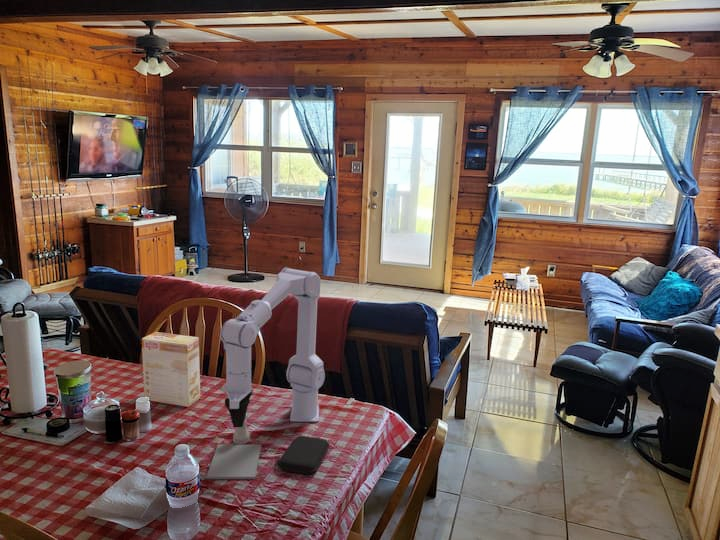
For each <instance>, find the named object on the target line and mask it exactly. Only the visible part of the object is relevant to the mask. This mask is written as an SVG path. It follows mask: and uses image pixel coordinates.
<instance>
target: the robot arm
mask: <svg viewBox="0 0 720 540" xmlns="http://www.w3.org/2000/svg"><path fill="white" fill-rule="evenodd" d="M276 277H277V278H276V283H274V285H273V286H272V287H271V288H270V290H269V291H268V292H267V293H266V294H265V295H264V296H263V298H261V299H255V300H252V301H251V302H250V304H249V305H248V306H247V307H246V308H245V309H244V310H243V311H242V312H241V313H240V314H239V315H237V316H236V318H230V319H228V320H226V321H225V322H224V323H223V325H222V327H221V330H220V331H221V332H220V333H219V337H220V340H221V341H222V343H223V350H224V351H225V357H226V359H225V362H226V363H225V366H226V369H225V371H226V372H225V374H226V381H225V382H226V384H224V385H221V389H220V390H221V392H223V393H224V392H225V393H226V395H227V397H228V398H225V400H224V405H225V407H226V409H227V410H228V413H229V414H230V419H231V423H232V426H233V428H236V427H242V426H243V423H244V419H245V416H246V414H247V410H248V406H249V405H250V402H251V400H250V398H251V396H252V395H253V391H254V389H253V385H252V345H254V343H255V342H256V339H257V336H258V334H260V329H261V328H262V327H263V326H264V325H265V324H266V323H268V321H269V320H270V319H271V317H272V314H273V313H272V310H273V309H274V308H276V306H278V305H279V304H280V303H281V302H283V301H284V299H286V298H287V297H288V296H289V295H291V296H293V297H294V298H295V299H296V300H297V302H298V305H297V324H296V325H297V330H296V350H295V351H296V352H295V353H296V354H295V355H293V356H291V357H290V358H289V359H288V366H287V369H286V374H285V375H286V380H287V381H288V383H290V387H291V388H292V399H291V400H292V403H291V404H292V405H291V410H290V418H289V421H290V422H292V423H293V422H297V423H299V422H303V423H306V422H310V423H311V422H313V423H315V422H316V423H317V422H318V423H319V416H320V405H319V404H318V401H319V389H320V388H321V387H322V386H323V385H324V382H325V378H326V373H325V368H324V361H323V360H322V359H321V358H320V357H319V356H318V355H317V354H316V342H317V339H316V338H317V320H318V319H317V318H318V300H319V299H320V297H321V295H320V294H321V277H320V275H318V273H317V272H315V271H308V270H301V269H295V268H290V267H284V268H283V269H281V271H280V272H279V273H277V276H276Z"/></svg>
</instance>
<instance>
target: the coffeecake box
mask: <svg viewBox="0 0 720 540" xmlns="http://www.w3.org/2000/svg"><path fill="white" fill-rule="evenodd" d="M199 339H200V337H198V336H191V335H184V334H183V335H182V334H174V333H168V332H159V331H154V332H152V333H150V334H148V335H146V336H144V337H142V338H141V352H142V355H141V356H142V371H143V373H142V374H143V392H144V393H143V395H144V396H147V397H149V399H150V401H151V402H156V403H157V402H158V403H162V404H170V405H175V406H180V407H187V408H189V407H191V406H192V405H193V404H194V403H195V402H197V401H198V400H199V399H200V398H201V377H200V376H201V370H200V369H201V368H200V367H201V366H200V340H199Z"/></svg>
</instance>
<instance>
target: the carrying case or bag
mask: <svg viewBox="0 0 720 540" xmlns="http://www.w3.org/2000/svg"><path fill="white" fill-rule="evenodd" d="M329 449H330V443H329V442H328V441H327V439H324V438H319V437H312V436H305V435H298V436H297V437H295V438H294V439H293V440H292V441H291V443H290V444H289V445H288V447H287V448H286V449H285V452H284V453H283V454H282V456H280V455H278V456H277V459H276V466H277V468H278V469H280V471H282V472H284V473H288V474H294V475H298V476H299V475H300V476H306V477H310V476H313V475H314V474H315V473H316V472H317V471H318V469H319V468H320V465H321V464H322V462H323V461H324V458H325V457H326V455H327V452H328V451H329Z"/></svg>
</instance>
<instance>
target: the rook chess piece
mask: <svg viewBox="0 0 720 540" xmlns="http://www.w3.org/2000/svg"><path fill="white" fill-rule="evenodd" d="M248 416H249V415H248V414H247V413H246V416H245V419H244V423H243V426H242V427H235V431H234V433H233V436H232V438H233V439H232V441H233V443H234V444H235V445H247V444H248V443H249V442H250V440H251V434H250V433H249V431H248V428H247V422H248V421H247V418H248Z"/></svg>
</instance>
